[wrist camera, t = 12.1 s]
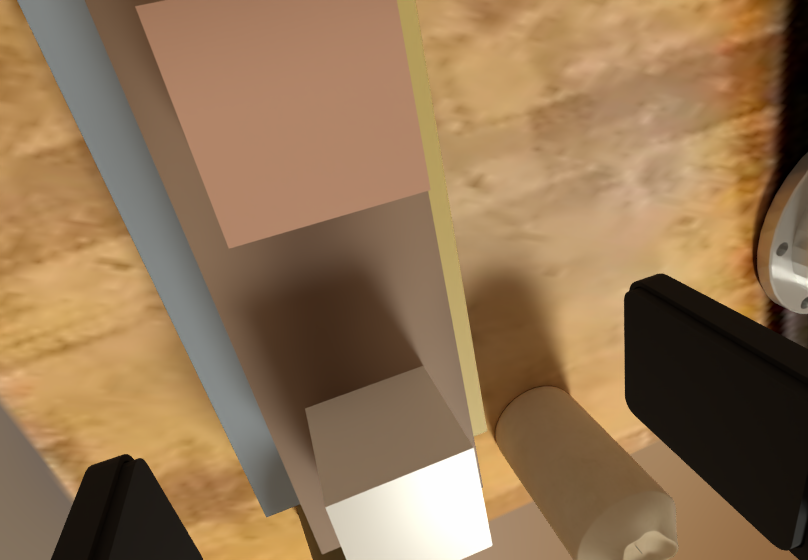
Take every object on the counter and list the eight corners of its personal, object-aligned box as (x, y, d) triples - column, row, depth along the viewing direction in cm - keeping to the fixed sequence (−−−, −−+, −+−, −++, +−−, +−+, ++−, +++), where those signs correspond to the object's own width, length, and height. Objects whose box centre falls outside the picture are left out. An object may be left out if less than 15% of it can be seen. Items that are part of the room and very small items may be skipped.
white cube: (423, 365, 17) (473, 447, 13) (443, 452, 19) (492, 545, 15) (305, 408, 16) (325, 507, 13) (337, 494, 18) (363, 602, 14)
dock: (351, -154, 18) (380, -205, 14) (455, 384, 29) (487, 431, 25) (11, -99, 16) (-53, -144, 12) (262, 456, 27) (266, 518, 23)
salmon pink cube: (342, -15, 12) (389, -45, 8) (379, 154, 14) (430, 190, 10) (165, 21, 11) (134, 6, 8) (229, 195, 13) (228, 248, 9)
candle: (574, 373, 31) (707, 499, 22) (572, 441, 33) (693, 579, 25) (491, 400, 30) (598, 543, 21) (496, 468, 32) (594, 622, 24)
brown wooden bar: (328, -102, 15) (363, -158, 11) (441, 416, 24) (483, 487, 20) (94, -60, 14) (38, -107, 10) (306, 467, 23) (322, 554, 19)
